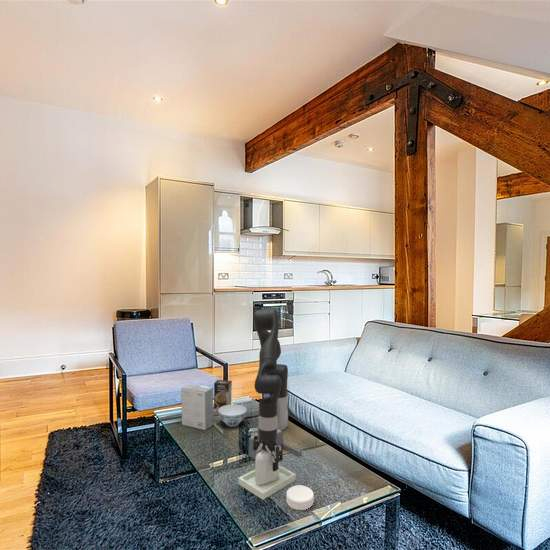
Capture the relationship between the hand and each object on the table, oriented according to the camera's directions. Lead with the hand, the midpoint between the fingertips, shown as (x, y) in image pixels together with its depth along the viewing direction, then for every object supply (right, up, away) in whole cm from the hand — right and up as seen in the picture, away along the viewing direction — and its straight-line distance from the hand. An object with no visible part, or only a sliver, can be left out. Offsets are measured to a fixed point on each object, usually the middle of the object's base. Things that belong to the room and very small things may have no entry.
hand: (267, 466), depth 150 cm
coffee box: (-28, -3, +73) cm, 79 cm away
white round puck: (+12, -7, -12) cm, 18 cm away
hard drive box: (-38, -4, +51) cm, 64 cm away
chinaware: (-20, -4, +53) cm, 57 cm away
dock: (+3, -6, +20) cm, 21 cm away
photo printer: (0, -6, 0) cm, 6 cm away
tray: (0, -6, 0) cm, 6 cm away
